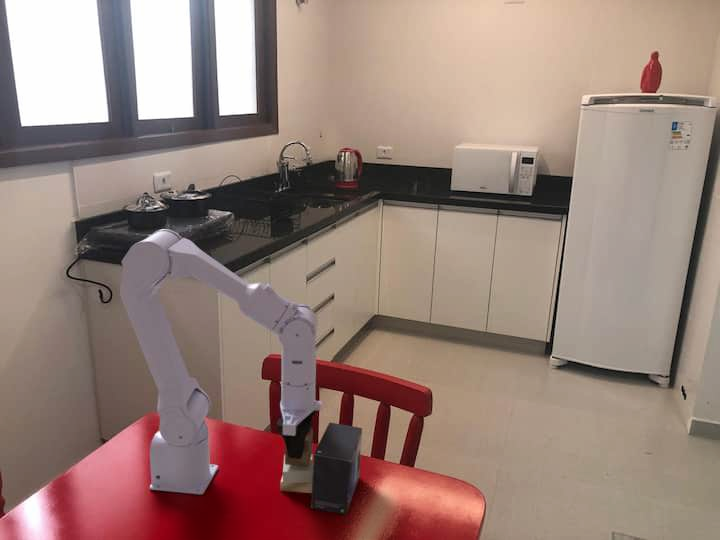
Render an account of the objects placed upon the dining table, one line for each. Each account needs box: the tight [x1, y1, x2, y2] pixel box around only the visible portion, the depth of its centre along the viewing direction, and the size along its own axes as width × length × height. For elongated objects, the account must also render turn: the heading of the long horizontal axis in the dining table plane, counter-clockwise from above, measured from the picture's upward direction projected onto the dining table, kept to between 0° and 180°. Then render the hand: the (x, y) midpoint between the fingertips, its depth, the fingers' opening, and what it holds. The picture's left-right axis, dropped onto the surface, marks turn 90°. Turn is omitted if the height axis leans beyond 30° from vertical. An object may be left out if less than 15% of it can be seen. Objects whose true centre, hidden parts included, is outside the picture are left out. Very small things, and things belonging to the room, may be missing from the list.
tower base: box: [279, 464, 313, 494], centre depth 101 cm, size 6×6×2 cm
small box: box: [310, 422, 363, 516], centre depth 97 cm, size 11×6×10 cm, turn 168°
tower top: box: [282, 454, 313, 483], centre depth 100 cm, size 5×5×2 cm
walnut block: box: [284, 428, 314, 467], centre depth 99 cm, size 4×4×5 cm
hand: (297, 449), depth 99 cm, fingers closed on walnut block, 4 cm apart
